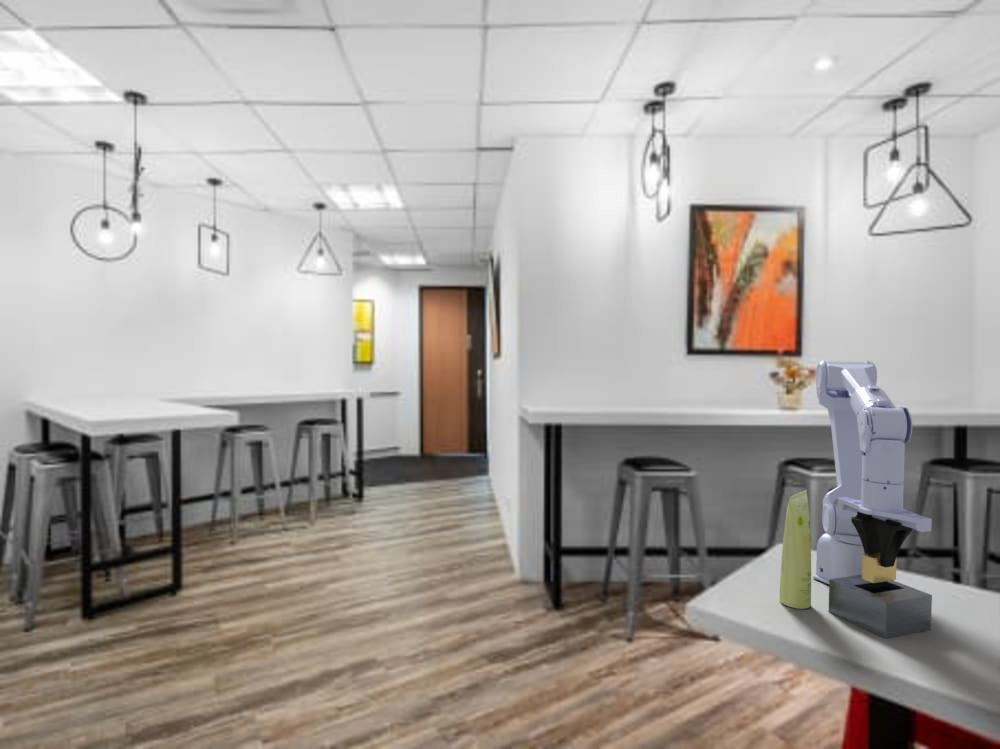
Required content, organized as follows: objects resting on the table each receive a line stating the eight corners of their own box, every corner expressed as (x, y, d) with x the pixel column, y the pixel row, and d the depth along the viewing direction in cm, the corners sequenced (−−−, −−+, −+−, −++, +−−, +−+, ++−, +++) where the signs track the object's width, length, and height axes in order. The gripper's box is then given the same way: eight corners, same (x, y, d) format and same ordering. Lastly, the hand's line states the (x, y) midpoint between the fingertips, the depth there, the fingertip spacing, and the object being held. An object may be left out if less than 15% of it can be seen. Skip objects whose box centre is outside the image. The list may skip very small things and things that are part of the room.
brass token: (861, 578, 94) (862, 554, 94) (884, 575, 96) (884, 551, 96) (873, 583, 92) (874, 558, 92) (895, 579, 94) (896, 555, 94)
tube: (818, 612, 97) (821, 497, 97) (786, 610, 98) (789, 495, 97) (803, 598, 103) (806, 489, 102) (774, 596, 103) (776, 488, 103)
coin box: (828, 611, 97) (829, 579, 97) (871, 604, 101) (872, 572, 101) (885, 638, 88) (886, 602, 88) (930, 629, 91) (931, 595, 91)
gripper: (825, 473, 99) (823, 551, 100) (909, 491, 86) (906, 582, 86) (855, 471, 102) (853, 547, 102) (942, 489, 88) (939, 577, 88)
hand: (879, 563), depth 94 cm, fingers closed on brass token, 2 cm apart
